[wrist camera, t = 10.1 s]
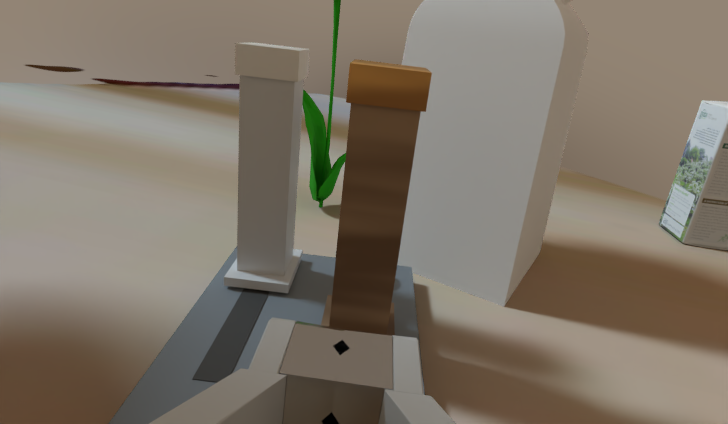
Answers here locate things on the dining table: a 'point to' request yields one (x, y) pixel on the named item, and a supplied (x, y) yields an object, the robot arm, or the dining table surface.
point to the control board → (241, 334)
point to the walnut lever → (375, 192)
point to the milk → (488, 137)
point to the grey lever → (268, 164)
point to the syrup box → (702, 183)
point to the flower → (322, 135)
